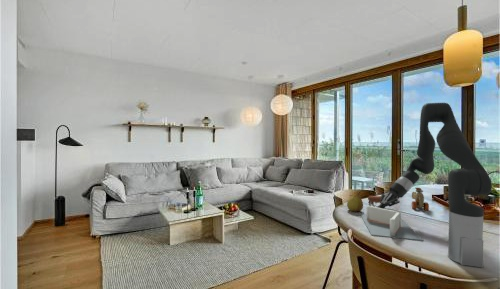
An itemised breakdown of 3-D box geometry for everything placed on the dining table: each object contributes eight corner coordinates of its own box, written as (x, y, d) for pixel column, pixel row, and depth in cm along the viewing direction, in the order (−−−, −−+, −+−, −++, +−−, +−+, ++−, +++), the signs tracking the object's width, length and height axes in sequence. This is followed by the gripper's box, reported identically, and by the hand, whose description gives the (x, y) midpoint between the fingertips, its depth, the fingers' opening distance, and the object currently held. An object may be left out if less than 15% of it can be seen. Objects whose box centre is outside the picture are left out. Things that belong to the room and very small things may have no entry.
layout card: (423, 241, 104) (423, 239, 104) (371, 235, 110) (371, 234, 110) (400, 217, 135) (400, 217, 135) (360, 214, 140) (360, 213, 140)
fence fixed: (396, 226, 121) (396, 211, 121) (401, 227, 120) (401, 212, 120) (389, 236, 109) (389, 219, 109) (394, 237, 108) (394, 220, 108)
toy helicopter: (413, 210, 149) (414, 188, 149) (405, 202, 169) (406, 182, 168) (429, 211, 146) (430, 189, 146) (419, 203, 166) (420, 183, 165)
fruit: (344, 209, 150) (344, 190, 150) (355, 208, 153) (355, 189, 153) (354, 213, 142) (354, 193, 142) (366, 212, 145) (366, 192, 145)
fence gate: (395, 224, 122) (396, 211, 121) (394, 225, 120) (394, 211, 120) (367, 218, 132) (367, 205, 132) (366, 218, 131) (366, 206, 130)
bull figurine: (391, 208, 153) (391, 195, 153) (368, 207, 156) (368, 194, 156) (388, 206, 157) (388, 194, 157) (366, 205, 160) (366, 193, 160)
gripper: (388, 179, 137) (367, 201, 137) (405, 184, 124) (381, 208, 123) (397, 189, 138) (376, 210, 137) (414, 194, 124) (391, 218, 124)
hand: (379, 209), depth 130 cm, fingers closed
